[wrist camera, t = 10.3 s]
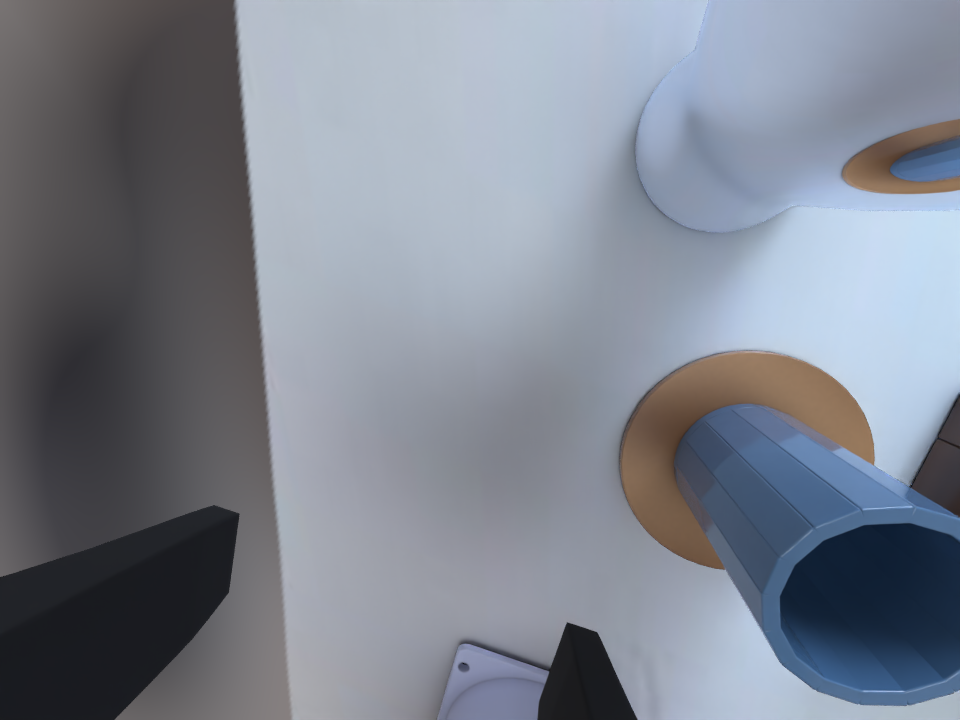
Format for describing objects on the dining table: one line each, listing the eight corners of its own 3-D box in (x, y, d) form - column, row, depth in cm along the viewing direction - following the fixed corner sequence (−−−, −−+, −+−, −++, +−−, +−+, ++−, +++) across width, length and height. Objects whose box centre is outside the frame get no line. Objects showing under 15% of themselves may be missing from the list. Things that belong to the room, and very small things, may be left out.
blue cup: (782, 541, 17) (950, 736, 10) (655, 502, 18) (728, 662, 11) (837, 424, 16) (1071, 551, 9) (699, 387, 17) (816, 478, 9)
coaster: (808, 593, 18) (814, 600, 18) (591, 526, 19) (592, 531, 18) (911, 388, 16) (921, 391, 16) (662, 322, 17) (664, 324, 16)
